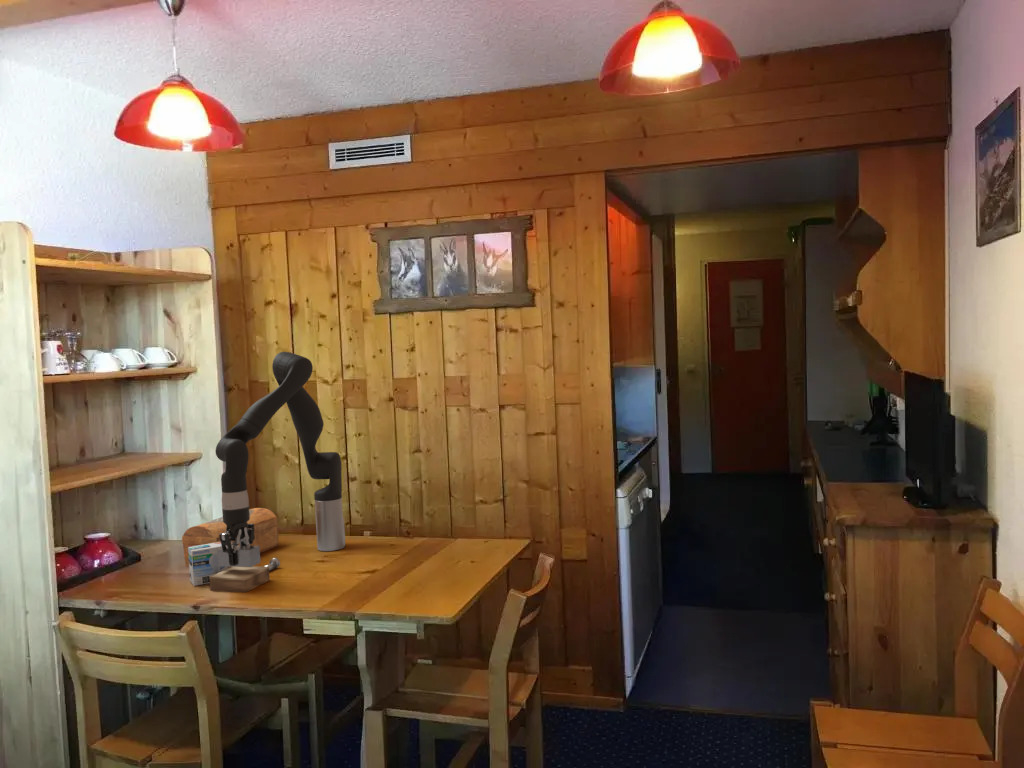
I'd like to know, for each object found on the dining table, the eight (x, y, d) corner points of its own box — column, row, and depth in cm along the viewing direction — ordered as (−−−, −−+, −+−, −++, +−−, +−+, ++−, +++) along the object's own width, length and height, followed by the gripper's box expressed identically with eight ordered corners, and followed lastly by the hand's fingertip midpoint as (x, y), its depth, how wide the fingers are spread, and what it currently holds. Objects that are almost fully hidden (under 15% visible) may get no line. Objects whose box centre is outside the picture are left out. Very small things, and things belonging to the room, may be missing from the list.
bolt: (271, 567, 260) (271, 557, 260) (280, 567, 259) (279, 557, 259) (260, 572, 254) (259, 562, 254) (269, 573, 253) (268, 563, 253)
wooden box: (221, 570, 260) (218, 527, 260) (182, 566, 267) (179, 524, 266) (283, 546, 288) (280, 507, 287) (246, 543, 294) (244, 505, 294)
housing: (260, 562, 242) (259, 545, 242) (250, 567, 237) (249, 550, 237) (228, 561, 245) (227, 545, 245) (218, 566, 240) (217, 549, 240)
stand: (235, 578, 249) (234, 565, 249) (269, 579, 246) (268, 566, 246) (210, 590, 238) (209, 577, 238) (245, 592, 234) (244, 578, 234)
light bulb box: (193, 586, 243) (191, 551, 242) (189, 581, 248) (186, 546, 248) (230, 579, 248) (228, 544, 248) (225, 574, 254) (223, 540, 254)
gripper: (231, 511, 232) (235, 570, 233) (260, 501, 246) (264, 556, 247) (209, 511, 235) (213, 569, 236) (239, 500, 248) (243, 555, 249)
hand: (239, 562), depth 241 cm, fingers closed on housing, 5 cm apart
